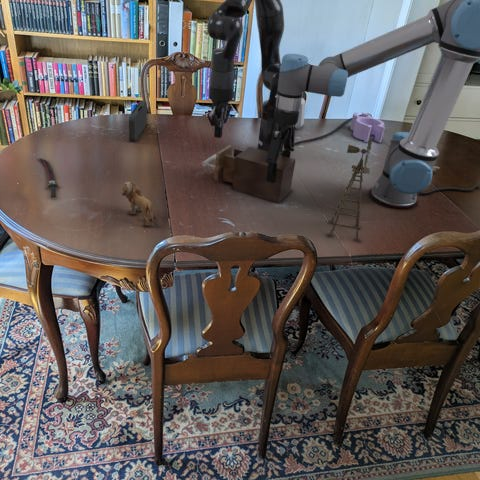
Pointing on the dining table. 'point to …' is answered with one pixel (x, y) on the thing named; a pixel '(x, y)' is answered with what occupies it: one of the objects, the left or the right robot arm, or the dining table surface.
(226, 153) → the drawer
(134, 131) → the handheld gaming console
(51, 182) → the sword
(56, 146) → the dining table surface
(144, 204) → the lion figurine
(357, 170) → the miniature windmill
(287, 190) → the cabinet
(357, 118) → the clip
